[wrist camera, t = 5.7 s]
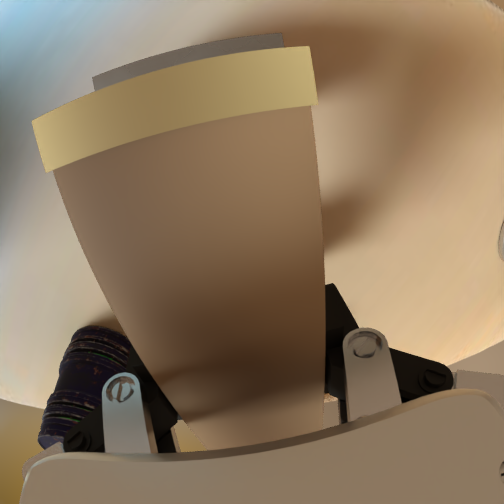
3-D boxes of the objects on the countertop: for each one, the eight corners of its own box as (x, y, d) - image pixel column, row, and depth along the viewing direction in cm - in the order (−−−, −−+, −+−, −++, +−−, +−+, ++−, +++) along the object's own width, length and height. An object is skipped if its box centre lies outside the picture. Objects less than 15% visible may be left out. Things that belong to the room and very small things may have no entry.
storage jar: (67, 359, 33) (38, 452, 20) (75, 313, 29) (32, 422, 16) (132, 385, 36) (120, 481, 24) (152, 344, 33) (139, 460, 20)
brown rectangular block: (261, 69, 8) (309, 46, 4) (302, 391, 16) (322, 461, 12) (112, 105, 8) (31, 120, 4) (222, 407, 16) (229, 478, 12)
